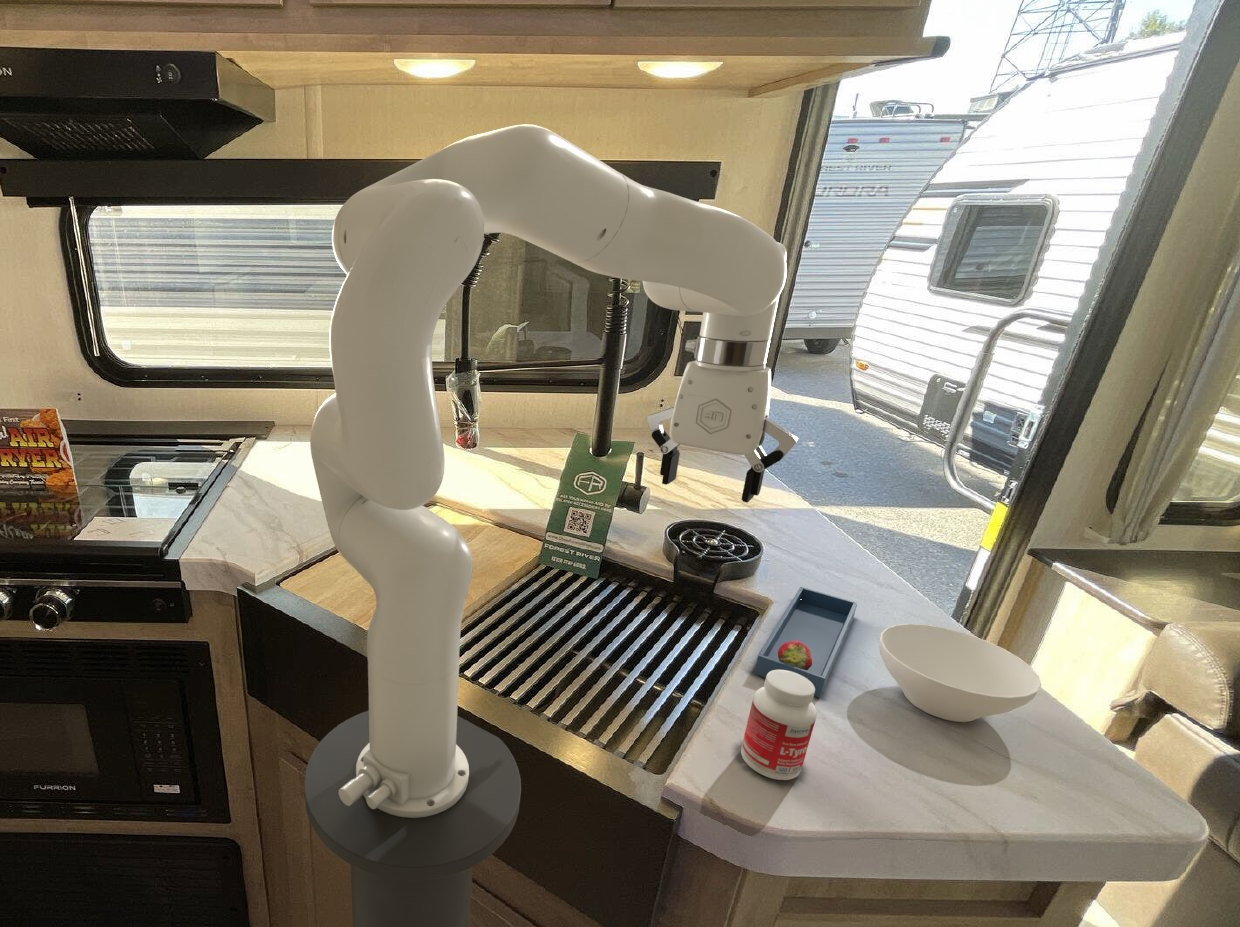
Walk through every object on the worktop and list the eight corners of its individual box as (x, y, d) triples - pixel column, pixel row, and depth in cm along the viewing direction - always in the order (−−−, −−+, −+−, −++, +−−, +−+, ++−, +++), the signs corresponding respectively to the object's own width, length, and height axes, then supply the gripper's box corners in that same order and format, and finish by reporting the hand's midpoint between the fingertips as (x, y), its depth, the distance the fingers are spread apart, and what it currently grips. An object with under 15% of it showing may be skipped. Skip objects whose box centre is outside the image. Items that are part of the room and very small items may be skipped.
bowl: (988, 764, 75) (1008, 714, 72) (841, 689, 88) (855, 644, 85) (1043, 717, 83) (1063, 670, 80) (901, 654, 95) (915, 612, 93)
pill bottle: (776, 789, 71) (798, 706, 67) (728, 753, 77) (746, 674, 73) (812, 771, 74) (836, 689, 70) (764, 737, 79) (783, 659, 75)
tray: (819, 697, 86) (825, 678, 85) (753, 673, 91) (758, 655, 90) (853, 619, 105) (857, 602, 103) (796, 602, 109) (800, 586, 108)
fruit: (813, 665, 92) (821, 634, 90) (805, 685, 88) (814, 653, 86) (779, 654, 95) (786, 624, 93) (770, 673, 90) (778, 642, 88)
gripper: (646, 350, 80) (628, 482, 86) (807, 365, 69) (774, 515, 76) (669, 343, 85) (650, 469, 91) (821, 357, 75) (789, 498, 81)
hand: (706, 490), depth 83 cm, fingers open, 9 cm apart
